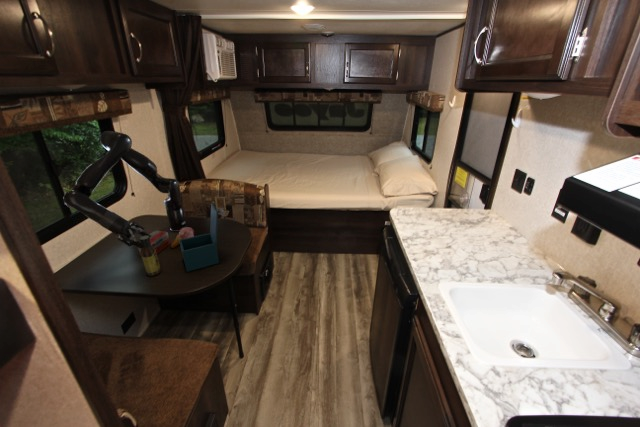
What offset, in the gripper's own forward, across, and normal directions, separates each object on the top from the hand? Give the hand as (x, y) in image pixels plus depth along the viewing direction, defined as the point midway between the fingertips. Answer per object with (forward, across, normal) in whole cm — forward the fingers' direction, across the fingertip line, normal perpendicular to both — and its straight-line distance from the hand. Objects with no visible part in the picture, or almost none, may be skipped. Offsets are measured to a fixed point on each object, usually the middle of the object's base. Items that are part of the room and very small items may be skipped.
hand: (146, 242), depth 137 cm
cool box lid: (+18, +10, -23) cm, 31 cm away
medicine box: (+8, +22, +17) cm, 29 cm away
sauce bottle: (+12, 0, +13) cm, 18 cm away
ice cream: (+18, +26, +6) cm, 32 cm away
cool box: (+27, +7, -2) cm, 28 cm away
